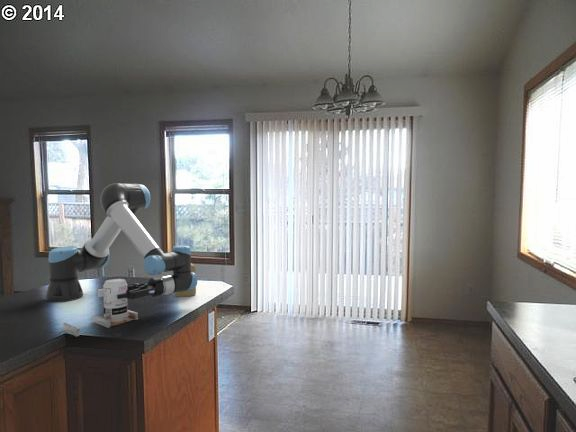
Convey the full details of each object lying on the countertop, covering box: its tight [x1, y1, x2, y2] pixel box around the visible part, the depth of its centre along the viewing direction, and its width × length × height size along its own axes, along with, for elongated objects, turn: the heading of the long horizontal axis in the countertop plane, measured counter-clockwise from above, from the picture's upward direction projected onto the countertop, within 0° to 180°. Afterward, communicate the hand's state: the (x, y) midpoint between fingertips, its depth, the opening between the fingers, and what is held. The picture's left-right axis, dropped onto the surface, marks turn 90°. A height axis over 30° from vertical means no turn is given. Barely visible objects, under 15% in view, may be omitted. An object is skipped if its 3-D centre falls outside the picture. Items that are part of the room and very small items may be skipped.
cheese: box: [174, 262, 197, 298], centre depth 195 cm, size 22×10×15 cm, turn 18°
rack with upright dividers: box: [61, 309, 139, 337], centre depth 144 cm, size 10×23×2 cm, turn 144°
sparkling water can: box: [102, 278, 129, 323], centre depth 148 cm, size 8×8×15 cm
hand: (102, 295), depth 144 cm, fingers open, 9 cm apart
